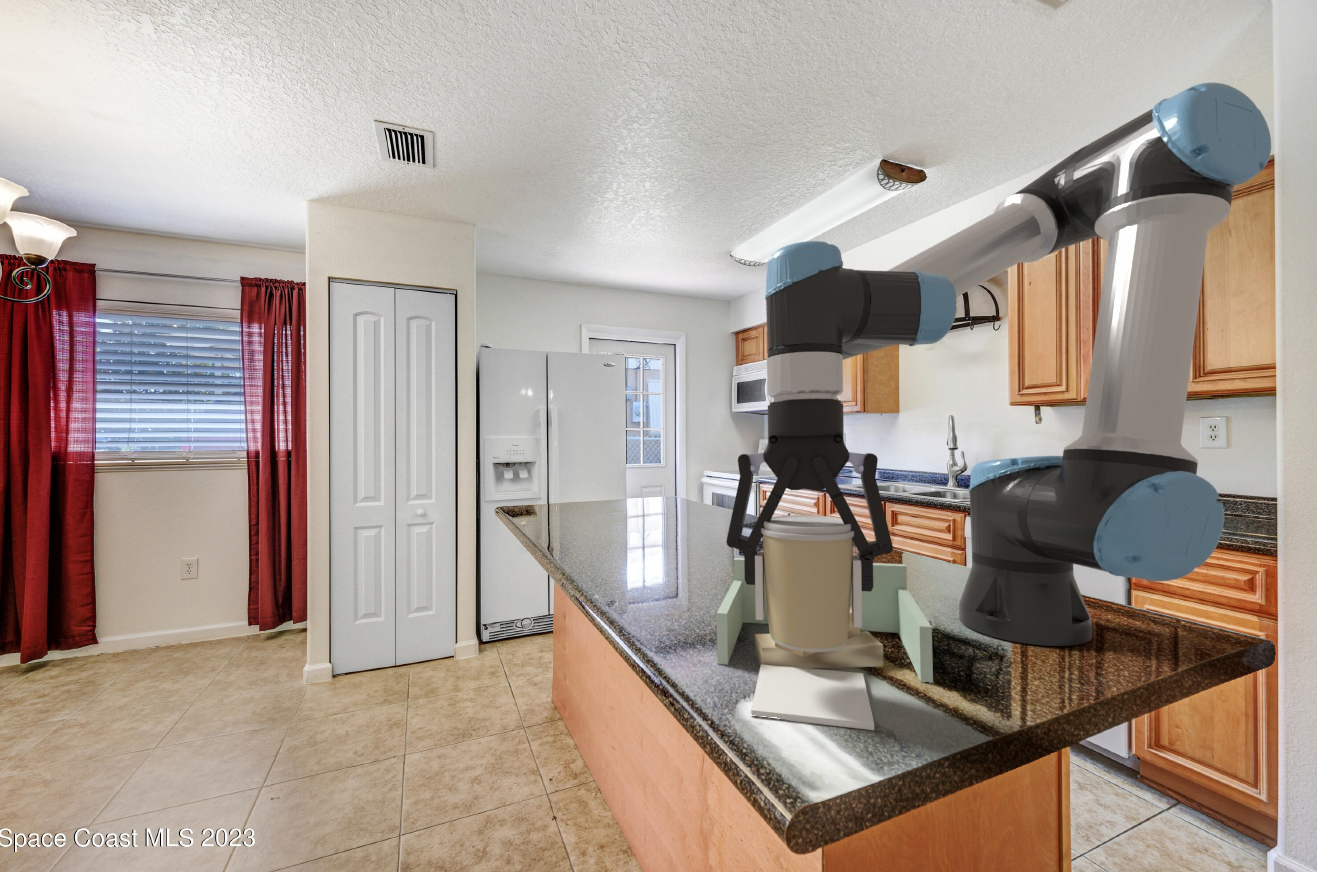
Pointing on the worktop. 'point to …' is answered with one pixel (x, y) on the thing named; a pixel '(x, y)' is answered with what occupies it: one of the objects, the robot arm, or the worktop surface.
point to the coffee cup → (808, 581)
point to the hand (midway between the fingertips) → (807, 618)
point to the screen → (880, 607)
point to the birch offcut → (823, 654)
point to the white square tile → (813, 696)
